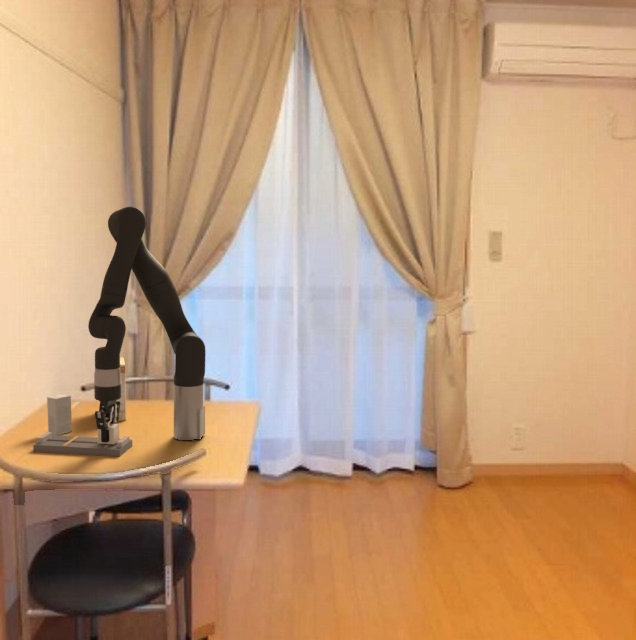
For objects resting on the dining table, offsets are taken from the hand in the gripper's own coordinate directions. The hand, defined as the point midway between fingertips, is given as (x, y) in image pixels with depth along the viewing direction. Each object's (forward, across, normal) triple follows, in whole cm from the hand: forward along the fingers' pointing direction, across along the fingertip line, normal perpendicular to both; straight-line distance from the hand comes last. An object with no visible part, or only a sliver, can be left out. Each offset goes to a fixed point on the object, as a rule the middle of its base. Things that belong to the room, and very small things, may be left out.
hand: (108, 439), depth 208 cm
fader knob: (+1, 0, 0) cm, 1 cm away
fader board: (+3, 0, +8) cm, 8 cm away
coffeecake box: (+4, +37, +13) cm, 39 cm away
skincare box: (+3, +14, +22) cm, 26 cm away
